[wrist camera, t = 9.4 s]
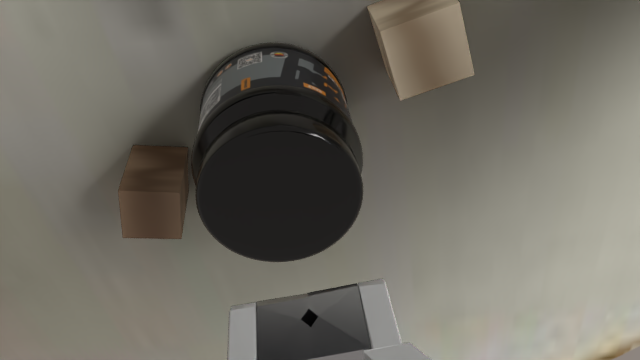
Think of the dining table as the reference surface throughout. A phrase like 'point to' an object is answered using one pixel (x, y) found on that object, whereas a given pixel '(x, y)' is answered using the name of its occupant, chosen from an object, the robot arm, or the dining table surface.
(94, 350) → the dining table surface
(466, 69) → the beech block
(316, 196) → the supplement container
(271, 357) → the robot arm
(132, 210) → the walnut block
